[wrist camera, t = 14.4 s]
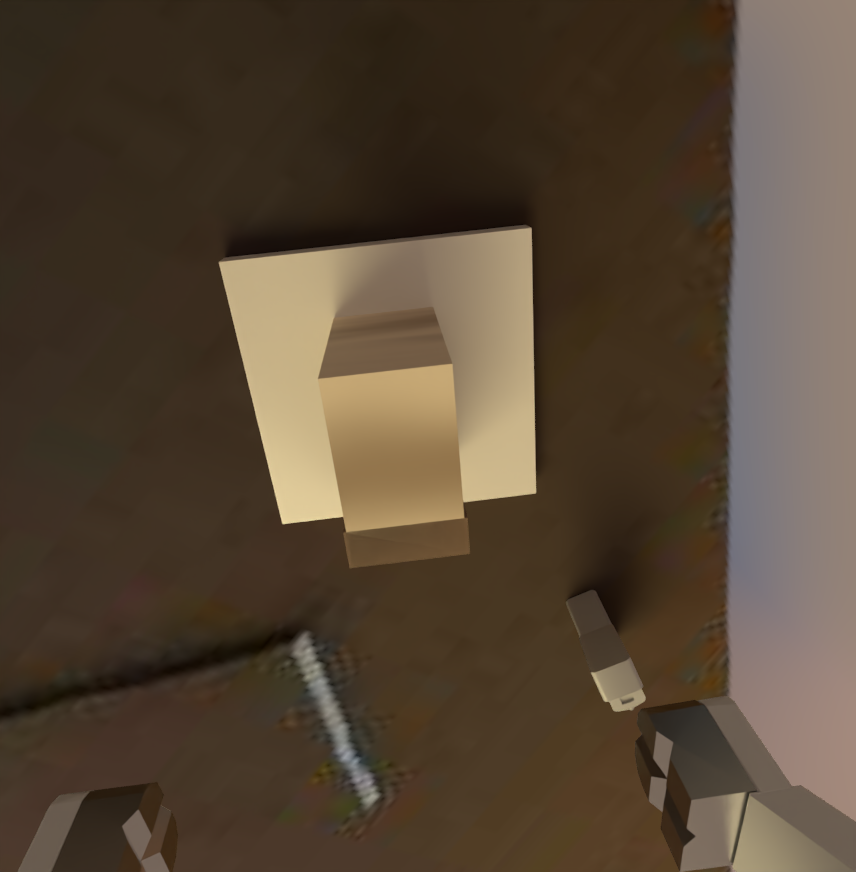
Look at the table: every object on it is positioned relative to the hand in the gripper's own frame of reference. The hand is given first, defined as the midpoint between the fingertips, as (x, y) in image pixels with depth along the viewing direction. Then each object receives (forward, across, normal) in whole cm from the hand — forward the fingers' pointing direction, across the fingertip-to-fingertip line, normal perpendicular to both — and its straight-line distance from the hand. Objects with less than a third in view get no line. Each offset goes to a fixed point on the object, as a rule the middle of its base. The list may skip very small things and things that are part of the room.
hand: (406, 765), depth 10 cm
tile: (+18, -1, 0) cm, 18 cm away
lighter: (+18, -9, +14) cm, 25 cm away
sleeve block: (+17, 0, 0) cm, 17 cm away
